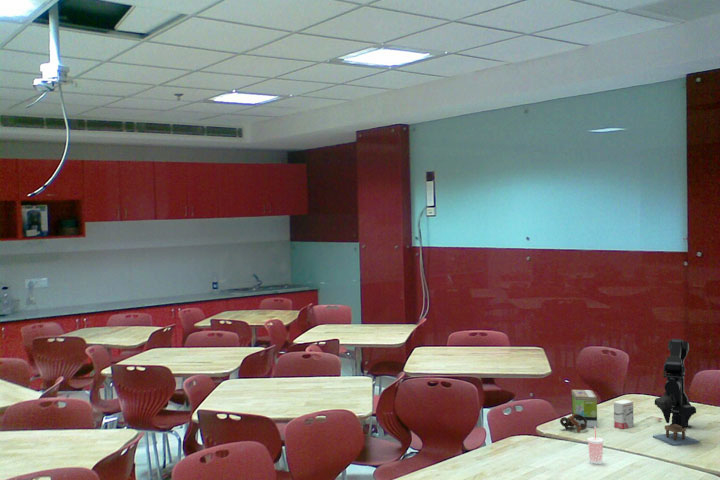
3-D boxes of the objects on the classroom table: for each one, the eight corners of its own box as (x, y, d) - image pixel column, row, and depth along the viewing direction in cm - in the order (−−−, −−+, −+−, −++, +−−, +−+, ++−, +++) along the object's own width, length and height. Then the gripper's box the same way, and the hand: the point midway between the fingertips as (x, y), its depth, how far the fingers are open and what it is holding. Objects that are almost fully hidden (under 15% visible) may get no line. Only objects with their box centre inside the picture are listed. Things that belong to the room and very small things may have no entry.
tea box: (598, 428, 307) (597, 396, 307) (575, 427, 309) (574, 396, 309) (592, 419, 322) (592, 389, 322) (571, 418, 324) (570, 388, 324)
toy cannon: (578, 427, 311) (585, 413, 308) (584, 441, 303) (591, 428, 299) (554, 421, 310) (561, 408, 307) (559, 435, 302) (566, 422, 298)
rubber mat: (677, 434, 294) (676, 432, 294) (699, 442, 282) (699, 440, 282) (652, 437, 291) (652, 435, 291) (674, 446, 278) (674, 444, 278)
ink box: (622, 429, 304) (622, 403, 304) (613, 427, 308) (612, 401, 308) (634, 426, 309) (633, 401, 309) (625, 423, 313) (624, 399, 313)
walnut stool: (676, 435, 290) (675, 424, 290) (686, 439, 284) (686, 427, 284) (664, 437, 288) (664, 425, 288) (675, 440, 283) (674, 429, 283)
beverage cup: (591, 458, 265) (590, 423, 265) (606, 461, 262) (605, 426, 262) (585, 462, 261) (584, 427, 261) (601, 465, 257) (600, 429, 257)
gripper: (644, 386, 293) (644, 421, 293) (674, 396, 275) (675, 433, 275) (664, 384, 296) (665, 419, 296) (696, 393, 278) (697, 430, 278)
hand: (675, 425), depth 286 cm, fingers open, 9 cm apart
